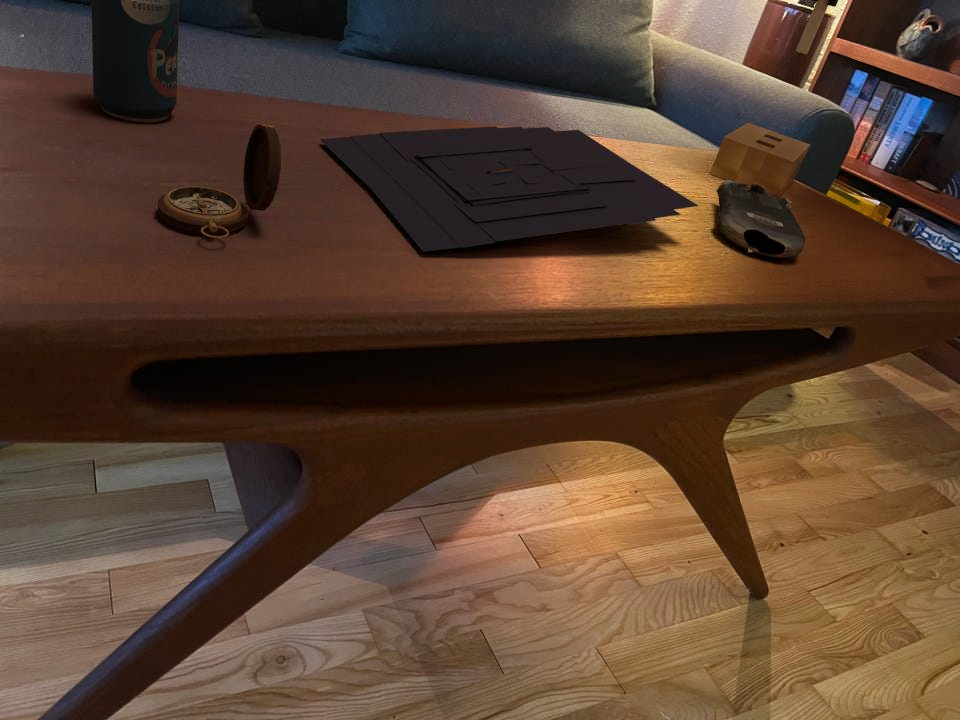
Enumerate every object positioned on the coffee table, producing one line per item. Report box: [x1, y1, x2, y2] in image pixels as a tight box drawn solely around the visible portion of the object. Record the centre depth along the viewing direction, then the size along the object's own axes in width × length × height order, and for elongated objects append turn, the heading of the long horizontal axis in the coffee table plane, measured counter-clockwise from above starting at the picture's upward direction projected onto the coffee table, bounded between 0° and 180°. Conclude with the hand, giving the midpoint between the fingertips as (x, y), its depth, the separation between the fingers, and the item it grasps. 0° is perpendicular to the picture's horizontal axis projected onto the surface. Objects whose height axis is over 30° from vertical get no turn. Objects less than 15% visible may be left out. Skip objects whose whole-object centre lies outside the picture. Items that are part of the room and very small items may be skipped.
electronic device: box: [716, 180, 806, 259], centre depth 84 cm, size 9×6×15 cm
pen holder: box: [709, 122, 811, 197], centre depth 106 cm, size 9×15×5 cm, turn 151°
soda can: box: [90, 0, 180, 123], centre depth 69 cm, size 7×7×12 cm
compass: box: [155, 123, 282, 239], centre depth 55 cm, size 8×8×7 cm
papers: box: [318, 126, 699, 253], centre depth 75 cm, size 24×30×4 cm
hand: (822, 2), depth 91 cm, fingers closed
